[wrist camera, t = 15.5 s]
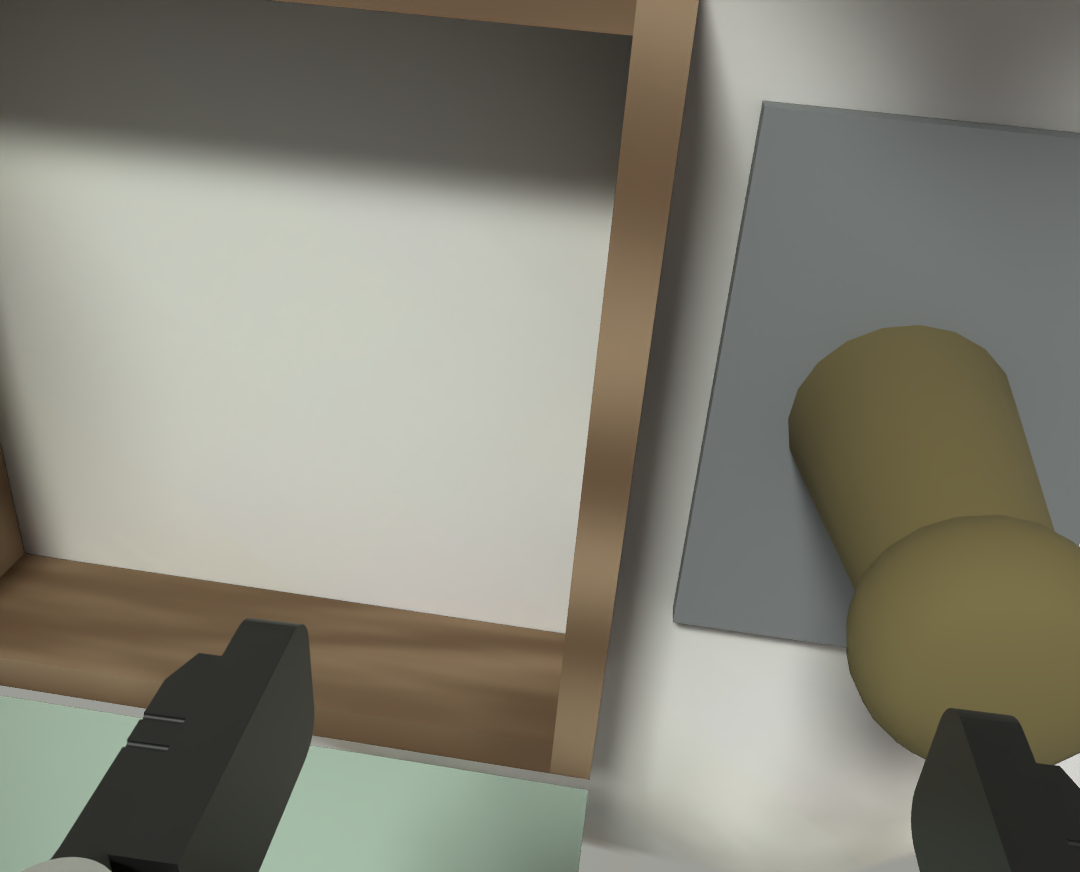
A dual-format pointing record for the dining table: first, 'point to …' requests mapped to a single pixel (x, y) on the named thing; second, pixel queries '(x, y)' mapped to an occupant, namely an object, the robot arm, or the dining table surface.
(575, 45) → the dining table surface
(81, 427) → the dining table surface
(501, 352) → the dining table surface
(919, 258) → the mat
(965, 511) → the cork
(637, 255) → the cold frame
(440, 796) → the lid
